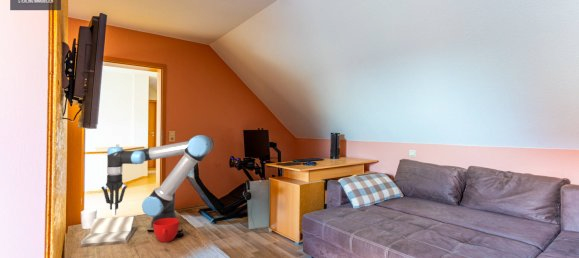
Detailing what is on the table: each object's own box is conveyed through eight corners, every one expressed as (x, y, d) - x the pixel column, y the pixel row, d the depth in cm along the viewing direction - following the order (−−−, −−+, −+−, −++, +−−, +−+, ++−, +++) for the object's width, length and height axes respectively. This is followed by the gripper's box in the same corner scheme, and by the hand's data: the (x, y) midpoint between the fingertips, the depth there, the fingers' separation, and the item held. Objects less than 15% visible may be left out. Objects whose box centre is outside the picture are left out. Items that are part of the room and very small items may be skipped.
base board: (136, 229, 174) (136, 224, 174) (127, 243, 153) (127, 238, 153) (94, 232, 167) (94, 227, 167) (78, 247, 146) (78, 242, 146)
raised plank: (134, 218, 172) (133, 216, 171) (130, 232, 164) (130, 230, 163) (95, 220, 166) (94, 218, 165) (89, 235, 158) (89, 233, 157)
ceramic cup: (149, 248, 146) (149, 228, 146) (155, 236, 162) (155, 218, 162) (176, 246, 150) (177, 226, 150) (180, 234, 166) (180, 217, 166)
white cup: (98, 224, 180) (98, 208, 180) (94, 229, 173) (94, 212, 173) (83, 225, 178) (83, 209, 178) (78, 230, 170) (78, 213, 170)
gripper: (129, 172, 173) (128, 212, 173) (104, 173, 169) (103, 213, 169) (125, 174, 165) (125, 216, 165) (99, 175, 162) (98, 217, 162)
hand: (114, 215), depth 167 cm, fingers closed
